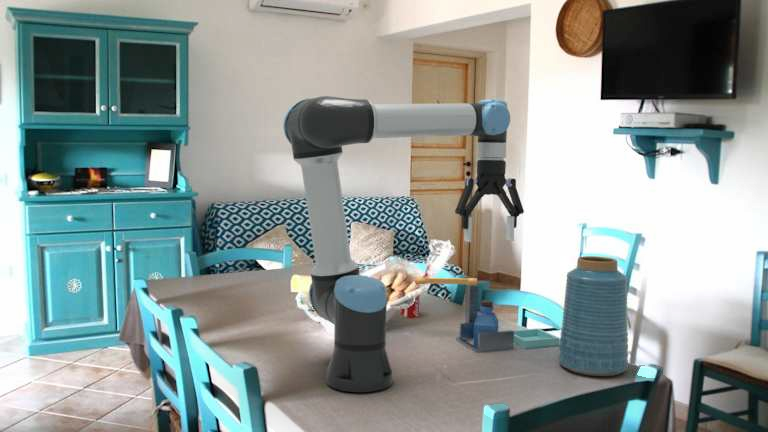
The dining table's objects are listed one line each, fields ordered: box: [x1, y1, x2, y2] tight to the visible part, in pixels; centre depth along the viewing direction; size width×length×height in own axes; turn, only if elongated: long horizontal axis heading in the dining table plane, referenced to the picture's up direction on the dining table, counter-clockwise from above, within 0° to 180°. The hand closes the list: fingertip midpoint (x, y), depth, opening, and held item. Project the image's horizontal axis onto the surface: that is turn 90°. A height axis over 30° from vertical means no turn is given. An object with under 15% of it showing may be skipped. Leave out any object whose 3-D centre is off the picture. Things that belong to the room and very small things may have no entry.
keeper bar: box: [414, 276, 478, 286], centre depth 196 cm, size 17×3×2 cm, turn 90°
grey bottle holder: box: [455, 284, 514, 353], centre depth 190 cm, size 16×11×15 cm
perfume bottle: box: [472, 299, 499, 348], centre depth 188 cm, size 6×6×12 cm
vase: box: [557, 255, 629, 377], centre depth 169 cm, size 16×16×27 cm
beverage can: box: [400, 295, 421, 319], centre depth 216 cm, size 6×6×12 cm
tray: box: [512, 328, 561, 350], centre depth 191 cm, size 11×11×2 cm
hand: (488, 240), depth 186 cm, fingers open, 12 cm apart
